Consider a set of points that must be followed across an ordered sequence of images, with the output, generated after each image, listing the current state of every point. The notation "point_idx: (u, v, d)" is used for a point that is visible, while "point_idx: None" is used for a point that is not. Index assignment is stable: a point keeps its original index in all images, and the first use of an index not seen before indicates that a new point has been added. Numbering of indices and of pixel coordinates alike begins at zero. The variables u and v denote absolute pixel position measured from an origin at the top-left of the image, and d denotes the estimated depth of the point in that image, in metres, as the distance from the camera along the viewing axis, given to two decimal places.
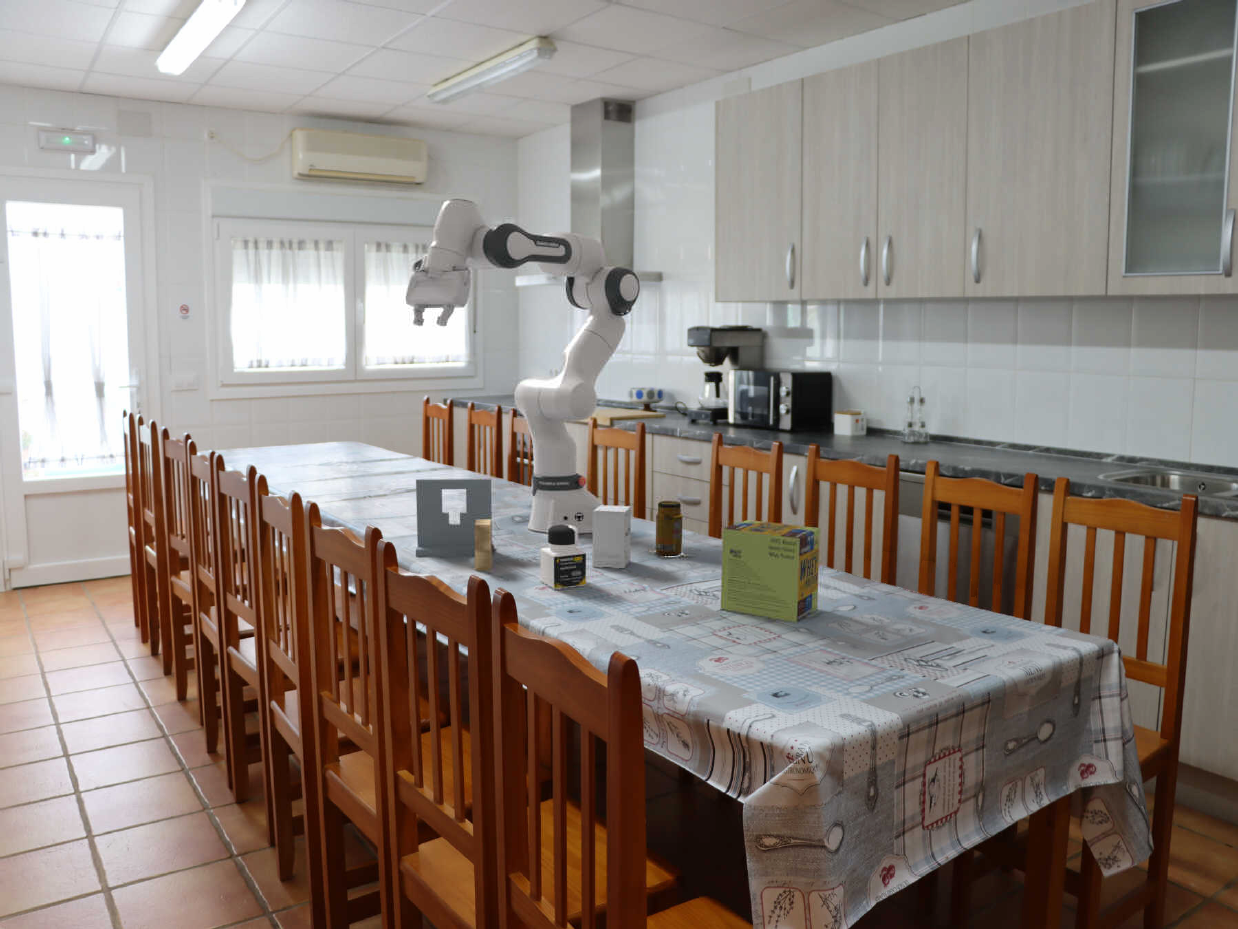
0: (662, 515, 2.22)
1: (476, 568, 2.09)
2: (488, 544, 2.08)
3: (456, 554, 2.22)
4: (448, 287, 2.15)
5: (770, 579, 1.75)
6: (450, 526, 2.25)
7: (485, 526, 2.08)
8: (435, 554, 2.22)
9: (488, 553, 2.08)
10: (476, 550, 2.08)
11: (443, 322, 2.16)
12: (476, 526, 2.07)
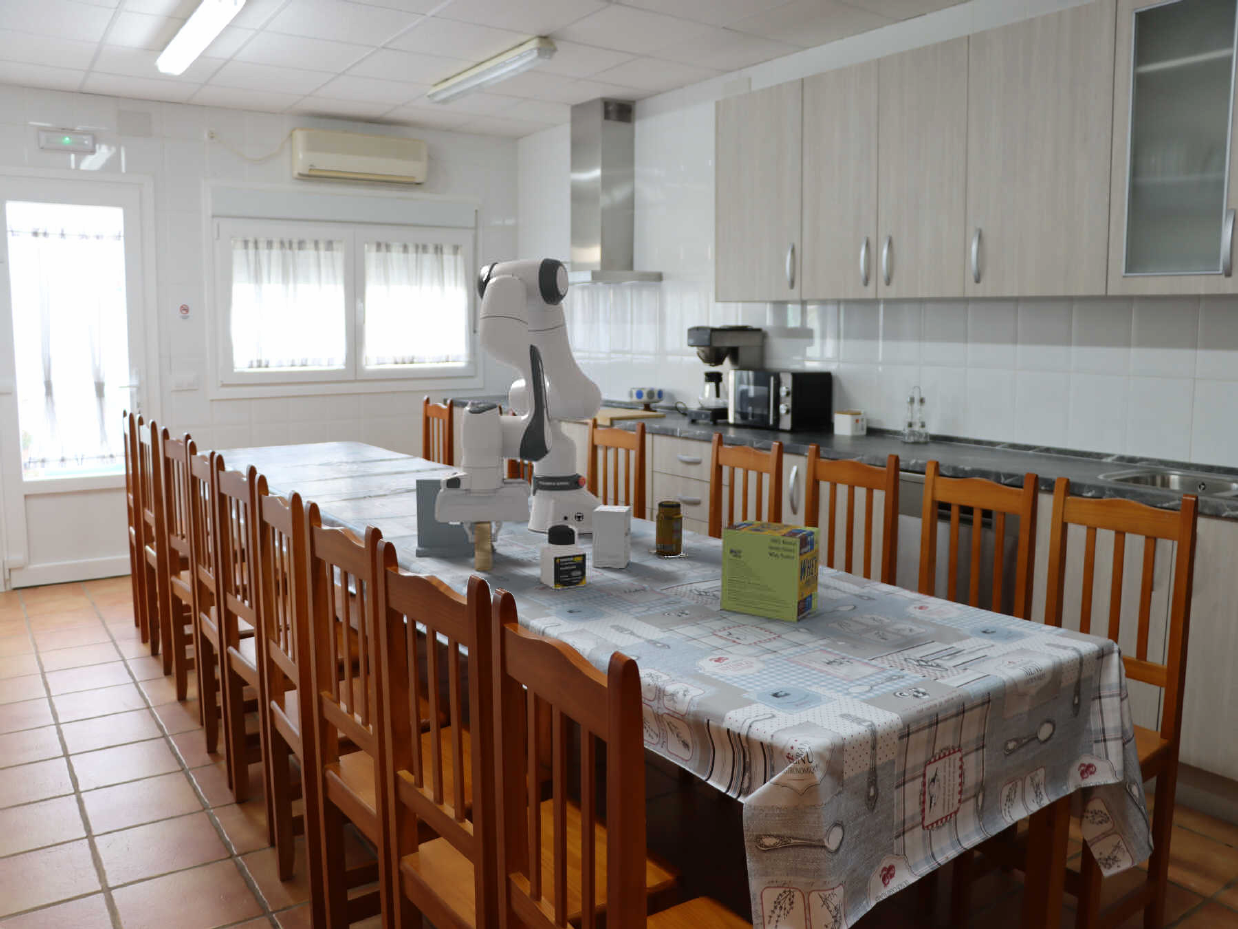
0: (662, 515, 2.22)
1: (476, 568, 2.09)
2: (488, 544, 2.08)
3: (456, 554, 2.22)
4: (512, 505, 2.09)
5: (770, 579, 1.75)
6: (450, 526, 2.25)
7: (485, 526, 2.08)
8: (435, 554, 2.22)
9: (488, 553, 2.08)
10: (476, 550, 2.08)
11: (497, 538, 2.11)
12: (476, 526, 2.07)
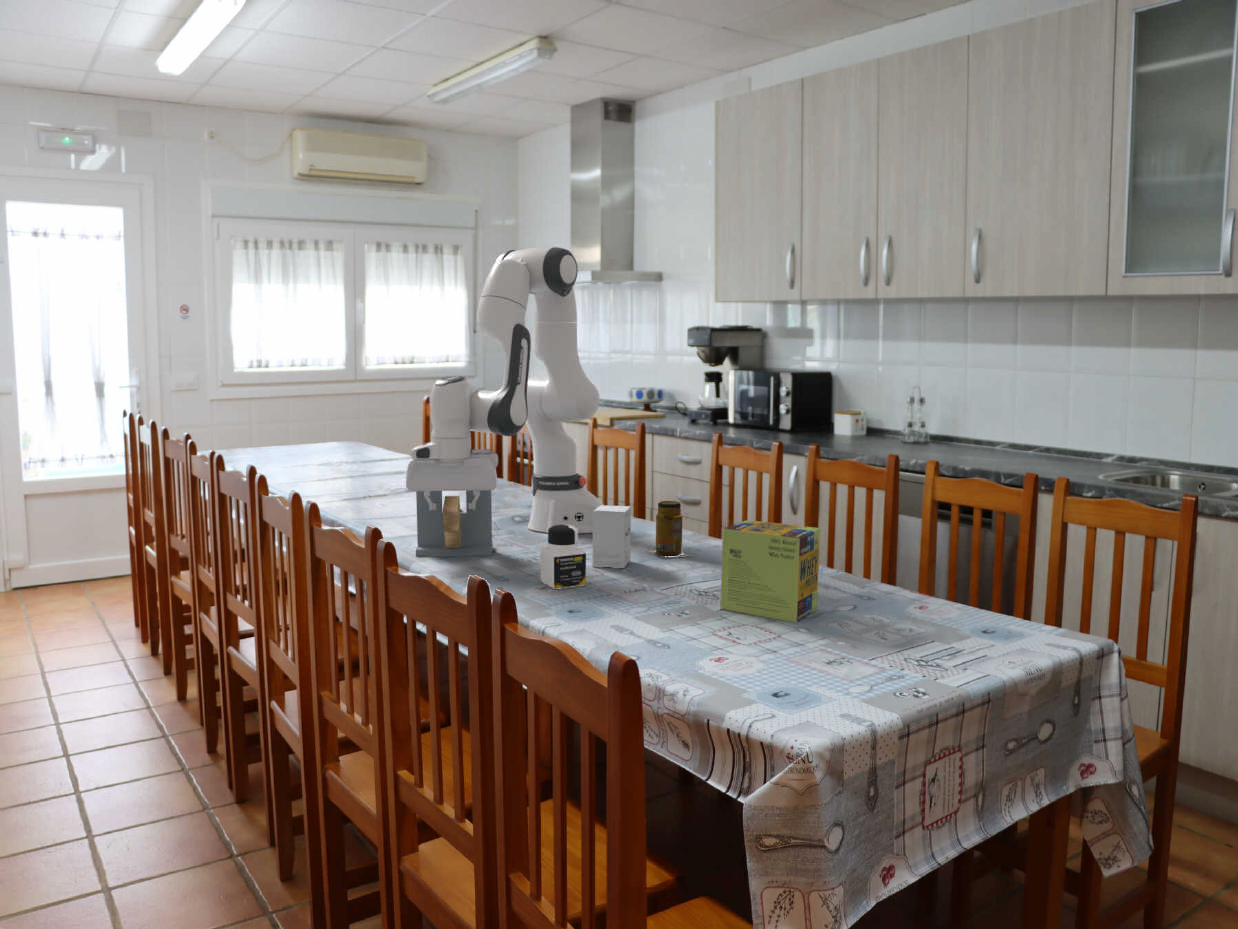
0: (662, 515, 2.22)
1: (446, 546, 2.19)
2: (456, 526, 2.17)
3: (456, 554, 2.22)
4: (480, 475, 2.18)
5: (770, 579, 1.75)
6: None
7: (453, 511, 2.15)
8: (435, 554, 2.22)
9: (457, 533, 2.18)
10: (445, 531, 2.17)
11: (475, 506, 2.20)
12: (444, 511, 2.15)
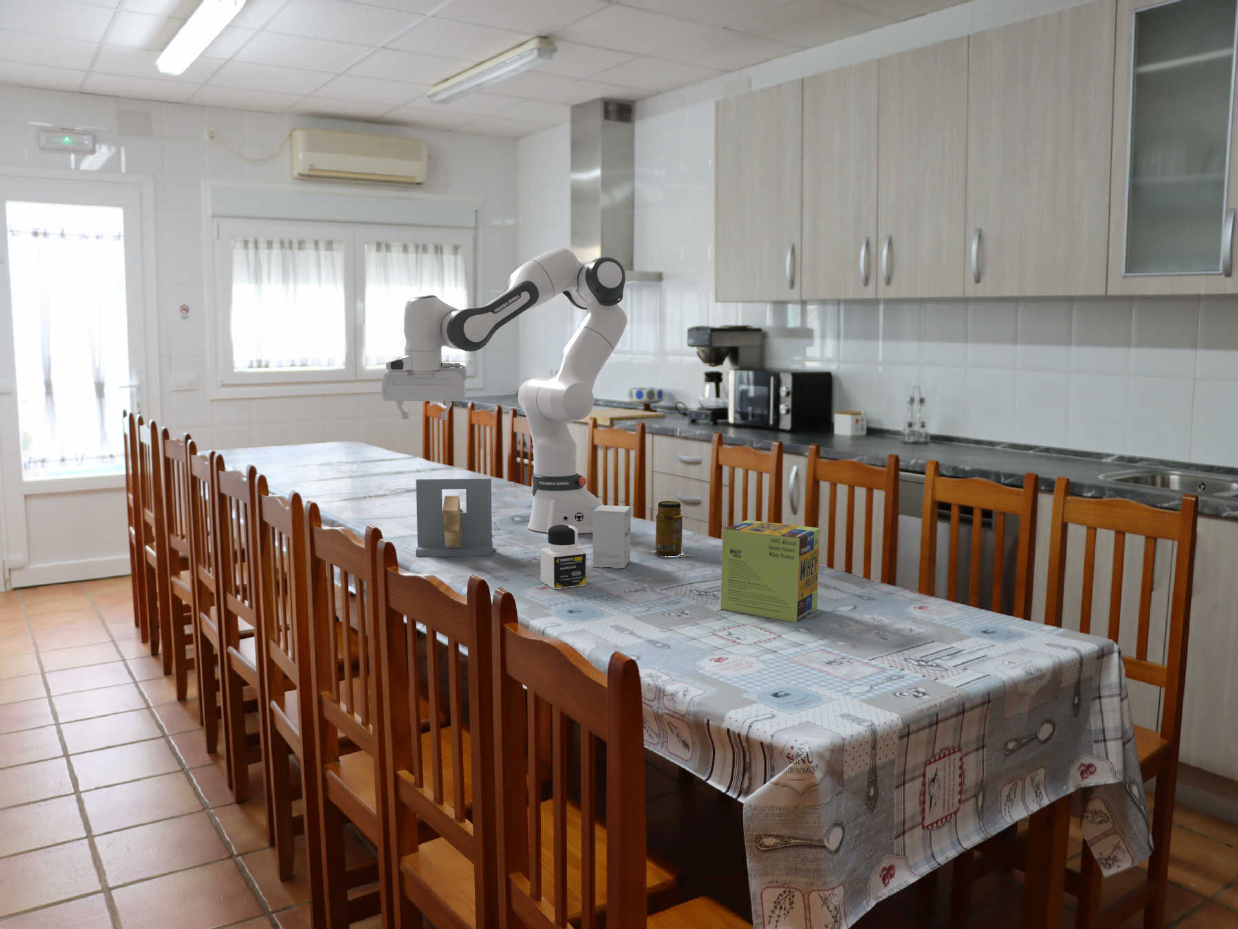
0: (662, 515, 2.22)
1: (446, 546, 2.19)
2: (456, 526, 2.17)
3: (456, 554, 2.22)
4: (449, 386, 2.37)
5: (770, 579, 1.75)
6: None
7: (453, 511, 2.15)
8: (435, 554, 2.22)
9: (457, 533, 2.18)
10: (445, 531, 2.17)
11: (446, 416, 2.39)
12: (444, 511, 2.15)
